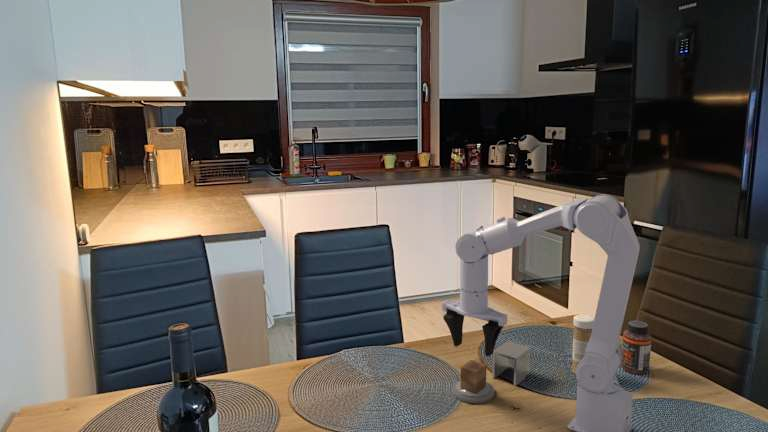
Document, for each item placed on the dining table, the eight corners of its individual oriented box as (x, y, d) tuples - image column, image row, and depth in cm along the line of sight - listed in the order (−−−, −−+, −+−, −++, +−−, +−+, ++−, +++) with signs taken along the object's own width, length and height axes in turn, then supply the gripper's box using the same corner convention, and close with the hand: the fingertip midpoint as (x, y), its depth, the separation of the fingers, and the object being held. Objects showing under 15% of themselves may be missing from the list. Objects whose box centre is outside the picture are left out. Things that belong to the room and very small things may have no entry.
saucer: (501, 390, 116) (501, 385, 116) (480, 408, 110) (480, 402, 109) (465, 378, 122) (465, 373, 122) (443, 394, 115) (443, 389, 115)
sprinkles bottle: (596, 373, 123) (599, 318, 120) (583, 379, 120) (586, 322, 118) (579, 366, 127) (582, 312, 124) (566, 371, 124) (569, 316, 122)
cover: (529, 373, 124) (530, 347, 122) (515, 385, 118) (516, 358, 117) (506, 366, 127) (507, 341, 126) (492, 378, 122) (492, 351, 121)
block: (486, 386, 116) (486, 364, 115) (476, 394, 113) (476, 372, 112) (470, 381, 118) (471, 359, 117) (460, 388, 115) (460, 366, 114)
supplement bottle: (614, 366, 126) (617, 321, 124) (633, 361, 128) (636, 316, 126) (636, 377, 121) (639, 330, 119) (654, 372, 123) (658, 325, 121)
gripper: (514, 289, 110) (513, 352, 112) (454, 277, 119) (454, 335, 122) (498, 299, 105) (497, 364, 107) (436, 285, 114) (436, 345, 116)
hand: (473, 349), depth 114 cm, fingers open, 7 cm apart
